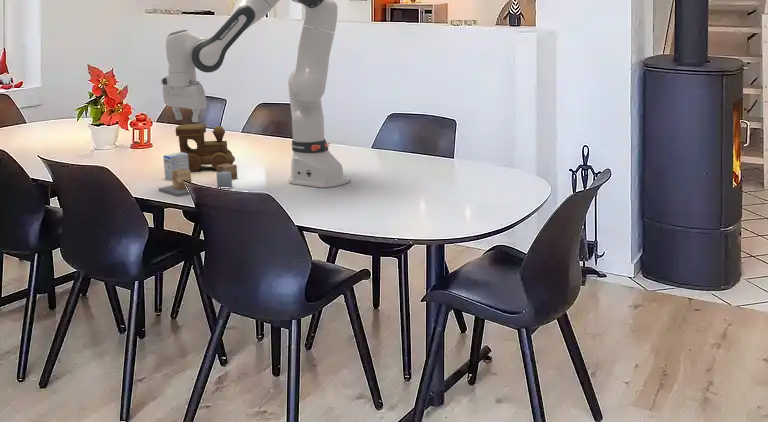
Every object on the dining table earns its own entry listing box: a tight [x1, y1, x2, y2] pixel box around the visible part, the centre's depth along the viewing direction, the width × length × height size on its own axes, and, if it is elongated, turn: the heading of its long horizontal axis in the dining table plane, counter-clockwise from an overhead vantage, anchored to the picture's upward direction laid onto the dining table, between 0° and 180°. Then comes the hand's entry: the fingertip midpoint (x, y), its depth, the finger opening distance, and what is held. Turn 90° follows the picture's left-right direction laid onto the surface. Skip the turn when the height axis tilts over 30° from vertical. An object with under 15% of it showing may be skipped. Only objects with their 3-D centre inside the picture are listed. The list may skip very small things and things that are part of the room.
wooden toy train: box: [175, 123, 236, 173], centre depth 329 cm, size 20×11×17 cm, turn 92°
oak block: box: [171, 169, 192, 190], centre depth 296 cm, size 4×4×6 cm
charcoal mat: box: [158, 184, 190, 197], centre depth 297 cm, size 12×11×1 cm
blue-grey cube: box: [216, 172, 233, 188], centre depth 300 cm, size 5×5×5 cm
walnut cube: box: [216, 163, 238, 180], centre depth 313 cm, size 5×5×5 cm
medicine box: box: [163, 151, 189, 181], centre depth 316 cm, size 8×4×9 cm, turn 141°
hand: (187, 120), depth 296 cm, fingers open, 8 cm apart
